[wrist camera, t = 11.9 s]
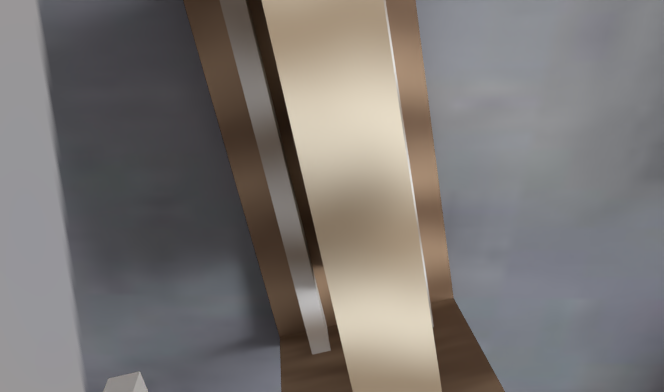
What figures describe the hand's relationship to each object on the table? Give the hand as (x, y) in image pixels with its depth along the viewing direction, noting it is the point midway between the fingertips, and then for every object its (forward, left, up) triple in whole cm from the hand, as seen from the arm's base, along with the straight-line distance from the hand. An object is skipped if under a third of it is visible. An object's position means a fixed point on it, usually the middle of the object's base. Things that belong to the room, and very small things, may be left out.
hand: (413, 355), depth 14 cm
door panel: (0, 0, -20) cm, 20 cm away
